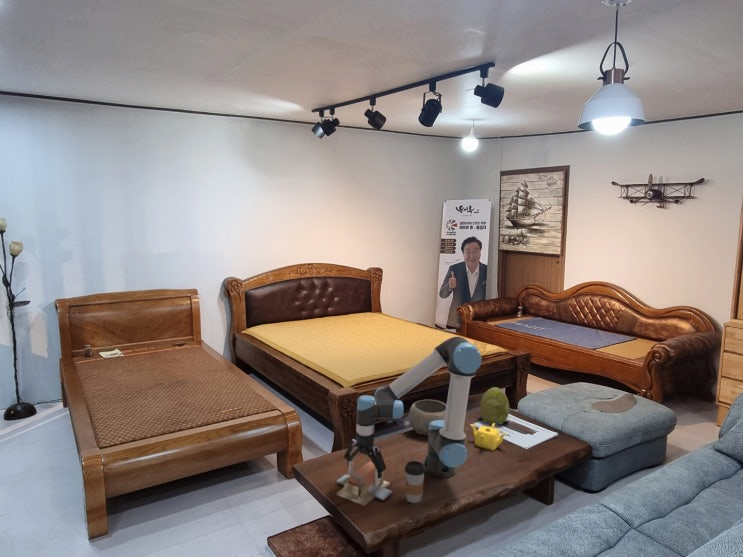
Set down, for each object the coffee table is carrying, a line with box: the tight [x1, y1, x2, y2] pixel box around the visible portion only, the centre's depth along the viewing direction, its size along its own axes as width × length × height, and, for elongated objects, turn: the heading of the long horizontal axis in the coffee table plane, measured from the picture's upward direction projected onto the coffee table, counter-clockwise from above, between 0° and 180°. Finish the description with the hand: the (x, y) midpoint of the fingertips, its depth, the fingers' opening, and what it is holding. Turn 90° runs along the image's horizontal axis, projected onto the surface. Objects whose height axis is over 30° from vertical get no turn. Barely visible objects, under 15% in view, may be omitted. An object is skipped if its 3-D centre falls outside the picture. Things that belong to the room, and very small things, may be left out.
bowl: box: [407, 399, 447, 437], centre depth 281 cm, size 23×23×15 cm
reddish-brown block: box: [350, 461, 377, 495], centre depth 221 cm, size 5×15×7 cm, turn 147°
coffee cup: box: [404, 460, 426, 504], centre depth 215 cm, size 8×8×15 cm
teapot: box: [469, 423, 507, 451], centre depth 267 cm, size 15×14×10 cm
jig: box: [336, 471, 393, 506], centre depth 221 cm, size 24×20×6 cm
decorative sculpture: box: [479, 386, 510, 425], centre depth 297 cm, size 16×16×20 cm
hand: (364, 479), depth 221 cm, fingers open, 13 cm apart
